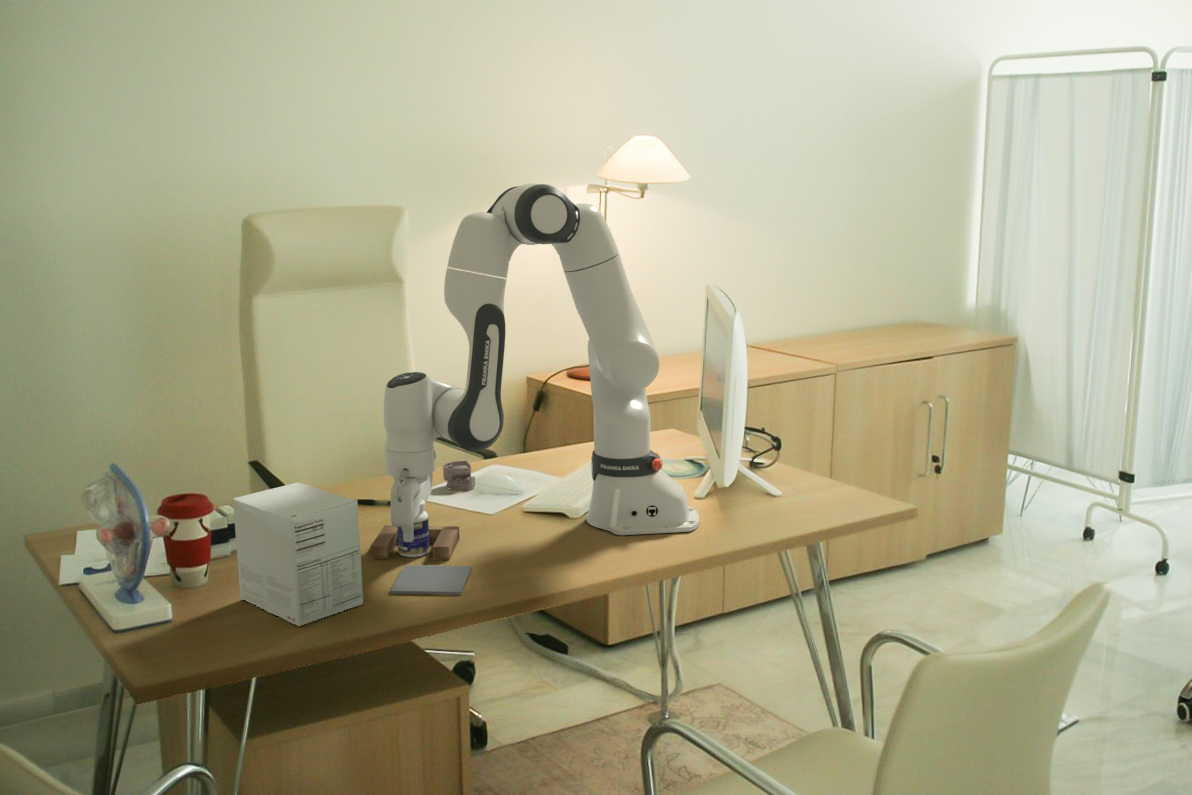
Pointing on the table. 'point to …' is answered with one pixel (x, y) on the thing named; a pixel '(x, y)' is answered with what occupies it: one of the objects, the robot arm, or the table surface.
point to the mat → (431, 580)
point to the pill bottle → (416, 536)
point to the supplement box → (298, 552)
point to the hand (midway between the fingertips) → (413, 534)
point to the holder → (440, 535)
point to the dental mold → (458, 475)
